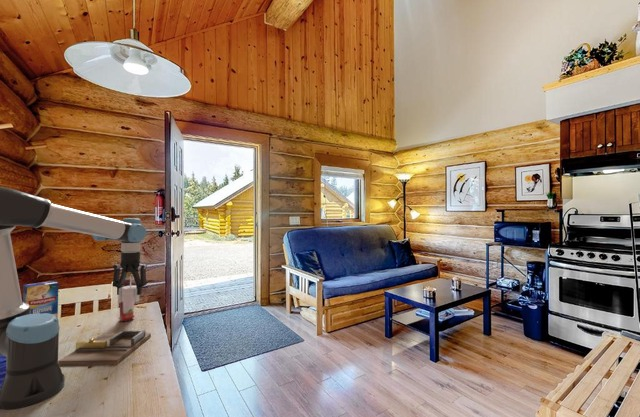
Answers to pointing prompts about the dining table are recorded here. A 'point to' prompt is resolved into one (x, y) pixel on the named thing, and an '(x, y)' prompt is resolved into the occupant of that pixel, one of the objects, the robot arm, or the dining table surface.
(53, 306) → the blue food box
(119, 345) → the board
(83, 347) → the bar
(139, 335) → the collar
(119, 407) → the dining table surface
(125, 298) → the smoothie
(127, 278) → the liquor
